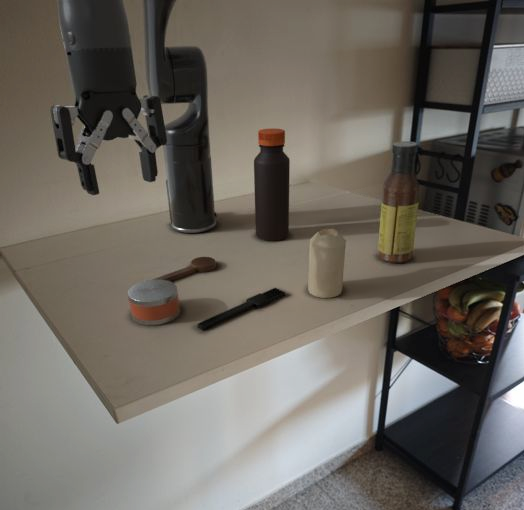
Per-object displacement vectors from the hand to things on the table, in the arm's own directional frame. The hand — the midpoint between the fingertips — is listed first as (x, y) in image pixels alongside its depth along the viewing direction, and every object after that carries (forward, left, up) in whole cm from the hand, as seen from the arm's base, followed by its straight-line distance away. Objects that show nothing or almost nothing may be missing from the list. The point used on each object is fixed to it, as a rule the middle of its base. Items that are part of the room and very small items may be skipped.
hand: (122, 187), depth 66 cm
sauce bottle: (+15, +44, -19) cm, 50 cm away
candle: (+15, +25, -19) cm, 35 cm away
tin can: (+2, +1, -19) cm, 19 cm away
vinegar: (-9, +36, -19) cm, 42 cm away
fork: (+11, +12, -19) cm, 25 cm away
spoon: (-6, +11, -19) cm, 23 cm away
